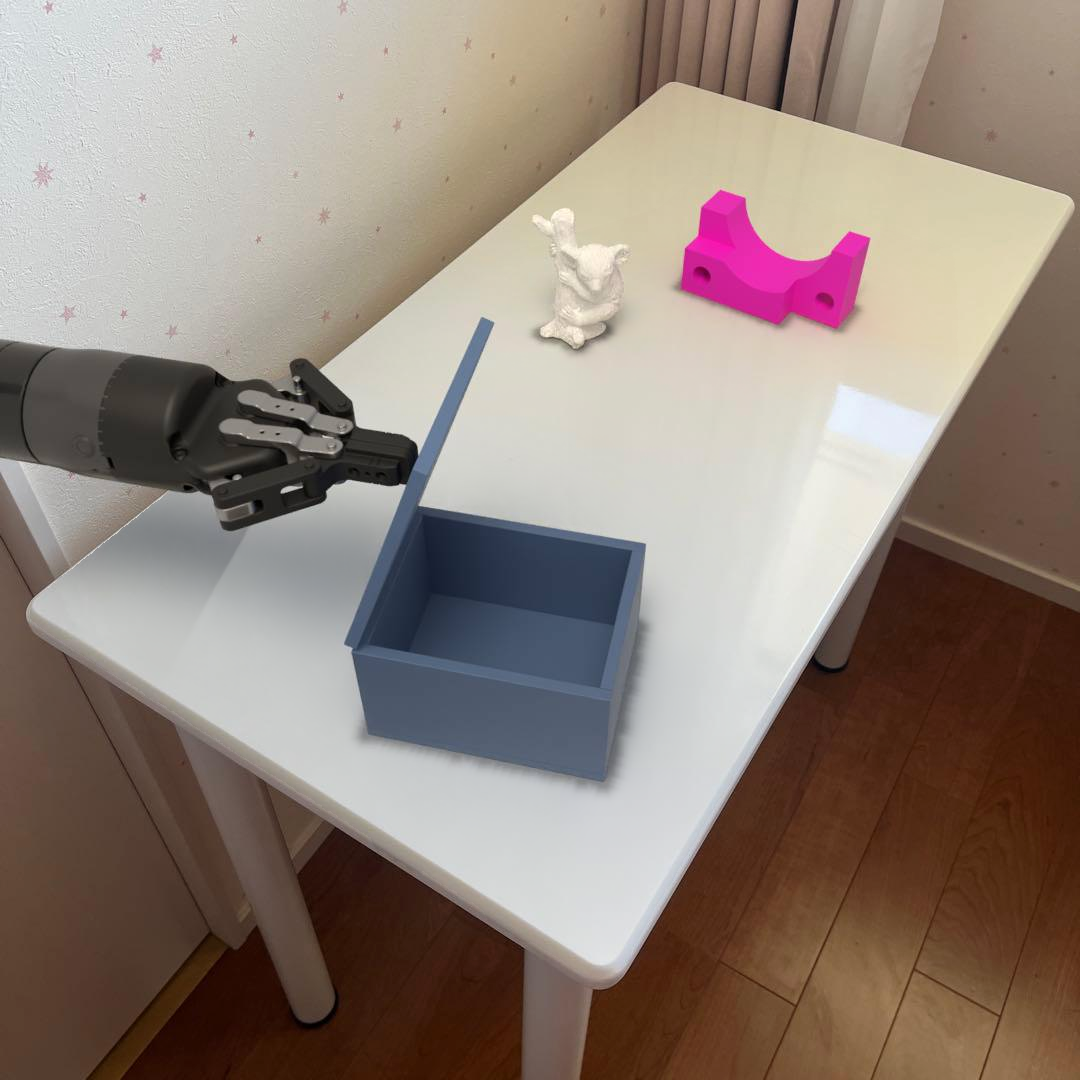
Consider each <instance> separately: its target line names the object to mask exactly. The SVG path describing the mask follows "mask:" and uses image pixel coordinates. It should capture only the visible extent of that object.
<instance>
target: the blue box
mask: <svg viewBox="0 0 1080 1080" xmlns="http://www.w3.org/2000/svg"><path fill="white" fill-rule="evenodd" d="M646 550H647V544H646V543H645V542H639V541H634V540H628V539H623V538H622V539H621V538H615V537H610V536H603V535H597V534H591V533H585V532H579V531H572V530H568V529H561V528H555V527H551V526H550V527H549V526H543V525H539V524H538V525H537V524H532V523H527V522H519V521H514V520H513V521H512V520H507V519H502V518H501V519H500V518H495V517H488V516H483V515H477V514H473V513H472V514H471V513H465V512H459V511H453V510H447V509H441V508H435V507H430V506H423V505H419V506H418V508H417V510H416V513H415V515H414V517H413V519H412V522H411V524H410V526H409V529H408V531H407V533H406V536H405V538H404V540H403V543H402V545H401V547H400V550H399V552H398V554H397V556H396V559H395V561H394V563H393V566H392V568H391V570H390V573H389V575H388V577H387V580H386V582H385V584H384V586H383V589H382V591H381V593H380V596H379V598H378V600H377V603H376V605H375V607H374V610H373V612H372V614H371V617H370V619H369V621H368V623H367V626H366V628H365V630H364V633H363V635H362V637H361V640H360V642H359V644H358V647H357V649H354V648H351V652H350V653H351V657H352V662H353V666H354V672H355V677H356V682H357V686H358V691H359V695H360V700H361V705H362V710H363V714H364V715H363V716H364V720H365V725H366V729H367V734H368V735H371V736H377V737H381V738H386V739H391V740H397V741H401V742H406V743H411V744H416V745H421V746H426V747H430V748H435V749H440V750H446V751H450V752H454V753H455V752H456V753H460V754H466V755H470V756H476V757H481V758H486V759H491V760H495V761H500V762H506V763H510V764H515V765H521V766H524V767H529V768H535V769H541V770H545V771H550V772H554V773H555V772H556V773H560V774H565V775H570V776H575V777H579V778H584V779H590V780H595V781H599V782H605V780H606V775H607V771H608V766H609V762H610V757H611V753H612V749H613V748H612V747H613V744H614V738H615V734H616V729H617V726H618V720H619V716H620V712H621V707H622V704H623V703H622V702H623V698H624V694H625V689H626V684H627V679H628V676H629V675H628V674H629V670H630V667H631V662H632V657H633V652H634V647H635V643H636V638H637V635H638V629H639V619H640V609H641V599H642V590H643V580H644V570H645V559H646Z"/></svg>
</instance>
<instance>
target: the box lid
mask: <svg viewBox="0 0 1080 1080" xmlns="http://www.w3.org/2000/svg"><path fill="white" fill-rule="evenodd" d="M494 325H495V321H492V320H490V319H488V318H485V317H483V316H481V317H480V319H479V321H478V323H477V325H476V328H475V330H474V333H473V335H472V337H471V339H470V341H469V343H468V345H467V348H466V350H465V352H464V355H463V357H462V359H461V361H460V363H459V365H458V367H457V370H456V372H455V374H454V377H453V378H452V381H451V383H450V385H449V387H448V390H447V392H446V393H445V397H444V399H443V401H442V403H441V404H440V407H439V410H438V412H437V413H436V417H435V418H434V421H433V423H432V425H431V427H430V430H429V431H428V433H427V436H426V439H425V440H424V443H423V445H422V447H421V449H420V452H419V453H418V455H419V456H418V458H417V460H416V463H415V465H414V467H413V469H412V472H411V474H410V477H409V480H408V482H407V485H405V488H404V490H403V493H402V495H401V497H400V500H399V503H398V505H397V508H396V510H395V513H394V515H393V518H392V520H391V523H390V525H389V528H388V529H387V533H386V535H385V538H384V541H383V543H382V545H381V549H380V551H379V553H378V556H377V558H376V561H375V564H374V566H373V569H372V571H371V573H370V576H369V578H368V581H367V584H366V586H365V589H364V591H363V594H362V597H361V599H360V601H359V604H358V607H357V609H356V612H355V614H354V617H353V619H352V622H351V624H350V627H349V629H348V632H347V634H346V637H345V639H344V642H343V645H344V646H346V647H349V648H351V649H353V648H354V649H357V647H358V644H359V642H360V640H361V637H362V635H363V633H364V630H365V628H366V626H367V623H368V621H369V619H370V617H371V614H372V612H373V610H374V607H375V605H376V603H377V600H378V598H379V596H380V593H381V591H382V589H383V586H384V584H385V582H386V580H387V577H388V575H389V573H390V570H391V568H392V566H393V563H394V561H395V559H396V556H397V554H398V552H399V550H400V547H401V545H402V543H403V540H404V538H405V536H406V533H407V531H408V529H409V526H410V524H411V522H412V519H413V517H414V515H415V513H416V510H417V508H418V506H420V503H421V501H422V499H423V496H424V494H425V491H426V489H427V486H428V484H429V481H430V479H431V477H432V475H433V471H434V470H435V467H436V465H437V462H438V461H439V457H440V455H441V452H442V451H443V448H444V445H445V444H446V441H447V438H448V437H449V436H448V435H449V433H450V431H451V430H452V429H451V428H452V426H453V424H454V421H455V419H456V417H457V415H458V412H459V409H460V407H461V405H462V403H463V400H464V398H465V396H466V393H467V390H468V388H469V386H470V383H471V381H472V378H473V376H474V373H475V371H476V369H477V367H478V364H479V363H480V360H481V356H482V354H483V352H484V349H485V347H486V345H487V342H488V341H489V337H490V335H491V333H492V331H493V328H494Z"/></svg>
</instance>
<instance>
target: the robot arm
mask: <svg viewBox="0 0 1080 1080" xmlns="http://www.w3.org/2000/svg"><path fill="white" fill-rule="evenodd" d="M288 365H289V370H290V374H287V375H285V376H283V377H281V378H279V379H276V380H275V381H272V382H269V381H267V380H265V379H261V378H252V379H246V380H245V379H244V380H231V379H229V378H227V377H226V376H225V375H223V374H221V373H219V371H217V370H216V369H214V368H213V367H211V366H210V365H208V364H203V363H198V362H190V361H185V360H177V359H171V358H164V357H157V356H151V355H144V354H137V353H130V352H123V351H116V350H110V349H102V348H68V347H67V348H66V347H64V348H63V347H59V346H53V345H45V344H40V343H33V342H26V341H22V340H21V341H20V340H13V339H5V338H0V459H5V460H10V461H15V462H16V461H17V462H23V463H28V464H34V465H40V466H46V467H52V468H55V469H60V470H63V471H66V472H69V473H72V474H74V475H79V476H82V477H87V478H93V479H99V480H104V481H110V482H117V483H122V484H128V485H134V486H139V487H145V488H152V489H157V490H164V491H168V492H169V491H170V492H174V493H175V492H176V493H181V494H193V493H198V492H199V493H201V494H202V495H203V494H204V495H206V496H211V498H212V501H213V506H214V510H215V514H216V517H217V519H218V520H219V524H220V528H222V530H224V531H226V532H235V531H238V530H241V529H245V528H247V527H250V526H254V525H257V524H260V523H264V522H266V521H271V520H273V519H276V518H280V517H282V516H286V515H289V514H292V513H295V512H298V511H301V510H304V509H305V510H306V509H308V508H311V507H314V506H317V505H320V504H323V503H325V501H326V500H327V498H328V492H327V491H328V490H329V489H331V487H333V486H335V485H336V486H338V485H342V484H344V483H346V482H347V481H353V482H358V483H364V484H373V485H377V486H378V485H379V486H382V487H383V486H384V487H397V486H400V485H402V486H406V485H407V482H408V480H409V477H410V474H411V472H412V469H413V467H414V465H415V463H416V460H417V458H418V456H419V446H418V444H417V442H416V441H414V440H412V439H411V438H410V437H408V436H406V435H404V434H400V433H392V432H389V431H382V430H381V431H380V430H375V429H369V428H362V427H359V426H358V425H357V422H356V415H355V409H354V404H353V403H354V402H353V400H352V399H350V397H348V396H347V394H346V393H344V392H343V391H342V390H341V389H340V388H339V387H338V386H336V384H334V382H332V381H331V380H330V379H329V378H328V377H327V376H326V375H324V373H323V372H321V371H320V370H319V368H317V367H316V366H315V365H314V364H313V363H312V362H311V361H309V359H307V358H302V357H300V358H295V359H293V360H291V361H290V362H289V364H288ZM288 487H297V488H296V489H293V490H292V489H291V490H290V491H286V492H282V491H283V489H285V488H288Z"/></svg>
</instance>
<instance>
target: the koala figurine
mask: <svg viewBox="0 0 1080 1080" xmlns="http://www.w3.org/2000/svg"><path fill="white" fill-rule="evenodd" d="M575 217H576V216H575V213H574V211H573V210H572V209H570V208H568V207H562V208H561V209H557V210H555V211H554V212H553V213H552V215H551V217H550V220H548V219H546V218H545V217H543V216H541V215H540V214H534V215H532V217H531V223H532V224H533V225H534V227H535V228H537V230H539V232H541V233H543V234H544V235H545V236H546V237H548V238H550V239H551V241H552V242H551V243H550V244H549V247H548V248H549V249H548V252H549V255H550V257H552V258H554V260H553V261H554V268H555V272H556V278H555V286H554V287H555V297H554V301H553V305H552V308H553V313H554V318H553V319H552V320H551V321H549V322H548V323H547V324H545V325H543V326H542V327H541V328H539V334H540V336H541V337H542V338H556V339H560V340H562V341H564V342H565V343H567V344H568V345H570V346H571V347H572V349H574V350H577V349H579V348H581V347H582V346H584V344H585V341H586V340H588V341H589V340H591V339H594V338H596V337H599V336H600V335H602V334H603V333H604V332H605V331H606V329H607V326H606V324H605V323H604V322H602V321H607V320H609V319H611V318H612V317H613V316H614V315H615V314H616V313H617V311H618V310H619V308H620V306H621V303H622V299H623V294H624V281H623V277H622V274H621V270H620V268H619V267H621V266H624V265H625V264H626V263H627V262H628V260H629V258H630V255H631V248H630V246H629V245H628V244H622V243H617V244H615V245H610V246H606V245H604V244H602V243H597V242H595V243H589V244H587V245H586V244H584V245H582V246H581V247H578V246H579V245H578V244H579V243H578V241H577V236H576V234H577V233H576V232H577V231H576V221H575V220H576V219H575Z"/></svg>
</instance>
